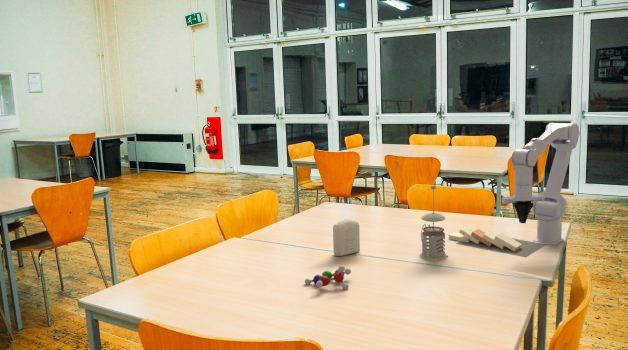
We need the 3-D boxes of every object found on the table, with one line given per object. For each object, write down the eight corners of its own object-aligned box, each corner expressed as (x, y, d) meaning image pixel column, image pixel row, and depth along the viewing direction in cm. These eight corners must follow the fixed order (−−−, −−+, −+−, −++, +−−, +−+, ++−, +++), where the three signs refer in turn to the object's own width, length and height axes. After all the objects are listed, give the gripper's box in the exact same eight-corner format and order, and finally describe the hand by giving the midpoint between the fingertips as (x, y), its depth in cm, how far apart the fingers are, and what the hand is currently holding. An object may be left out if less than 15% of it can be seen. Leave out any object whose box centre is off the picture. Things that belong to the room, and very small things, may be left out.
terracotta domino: (496, 243, 186) (477, 232, 191) (497, 239, 186) (478, 228, 191) (489, 246, 183) (470, 235, 188) (491, 243, 182) (472, 231, 187)
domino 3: (508, 245, 183) (488, 234, 188) (509, 242, 183) (490, 230, 187) (502, 249, 180) (482, 237, 185) (503, 245, 179) (483, 234, 184)
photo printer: (354, 249, 189) (353, 216, 187) (361, 251, 185) (360, 218, 183) (331, 254, 183) (330, 221, 181) (338, 257, 179) (337, 223, 177)
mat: (478, 233, 201) (478, 232, 201) (546, 245, 183) (546, 244, 183) (455, 244, 189) (455, 243, 189) (526, 258, 171) (526, 257, 170)
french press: (453, 255, 177) (453, 184, 173) (436, 264, 169) (436, 190, 165) (428, 249, 184) (428, 181, 180) (410, 258, 176) (410, 187, 172)
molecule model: (299, 298, 153) (336, 296, 145) (293, 274, 153) (331, 271, 145) (325, 283, 165) (362, 281, 157) (321, 261, 165) (356, 258, 157)
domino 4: (520, 247, 180) (500, 236, 185) (522, 244, 180) (501, 232, 184) (514, 251, 177) (493, 239, 181) (516, 247, 176) (495, 235, 181)
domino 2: (483, 241, 190) (465, 229, 194) (485, 237, 189) (467, 226, 194) (477, 244, 186) (459, 232, 191) (479, 240, 186) (460, 229, 190)
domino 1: (474, 239, 192) (455, 235, 198) (474, 235, 192) (455, 231, 198) (468, 242, 189) (448, 238, 194) (468, 238, 189) (448, 234, 194)
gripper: (537, 180, 179) (536, 218, 181) (497, 183, 177) (497, 221, 180) (548, 184, 172) (547, 223, 174) (507, 186, 170) (506, 226, 173)
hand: (522, 222), depth 176 cm, fingers closed
